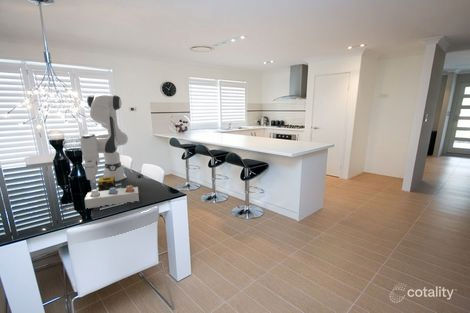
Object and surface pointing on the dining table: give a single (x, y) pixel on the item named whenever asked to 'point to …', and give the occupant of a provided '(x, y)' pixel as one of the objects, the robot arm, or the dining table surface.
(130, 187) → the key rust
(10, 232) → the dining table surface
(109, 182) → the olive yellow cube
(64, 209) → the dining table surface
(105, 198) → the console
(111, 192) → the key blue
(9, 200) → the dining table surface
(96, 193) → the key white
